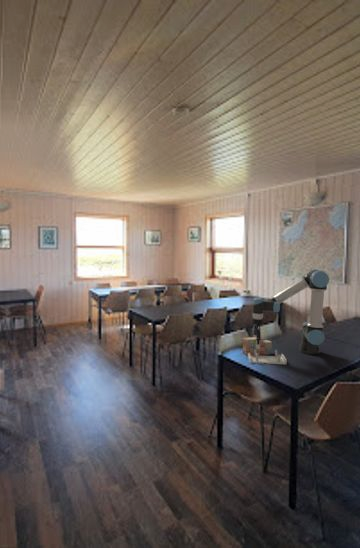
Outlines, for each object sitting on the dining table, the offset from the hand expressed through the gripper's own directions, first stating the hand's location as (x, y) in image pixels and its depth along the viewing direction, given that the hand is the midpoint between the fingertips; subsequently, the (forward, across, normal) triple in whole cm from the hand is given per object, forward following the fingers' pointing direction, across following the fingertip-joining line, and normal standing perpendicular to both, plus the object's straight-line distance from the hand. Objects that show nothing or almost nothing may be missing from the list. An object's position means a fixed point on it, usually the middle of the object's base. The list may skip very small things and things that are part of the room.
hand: (256, 345), depth 246 cm
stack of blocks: (+6, 0, +1) cm, 6 cm away
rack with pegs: (+6, +15, +5) cm, 17 cm away
